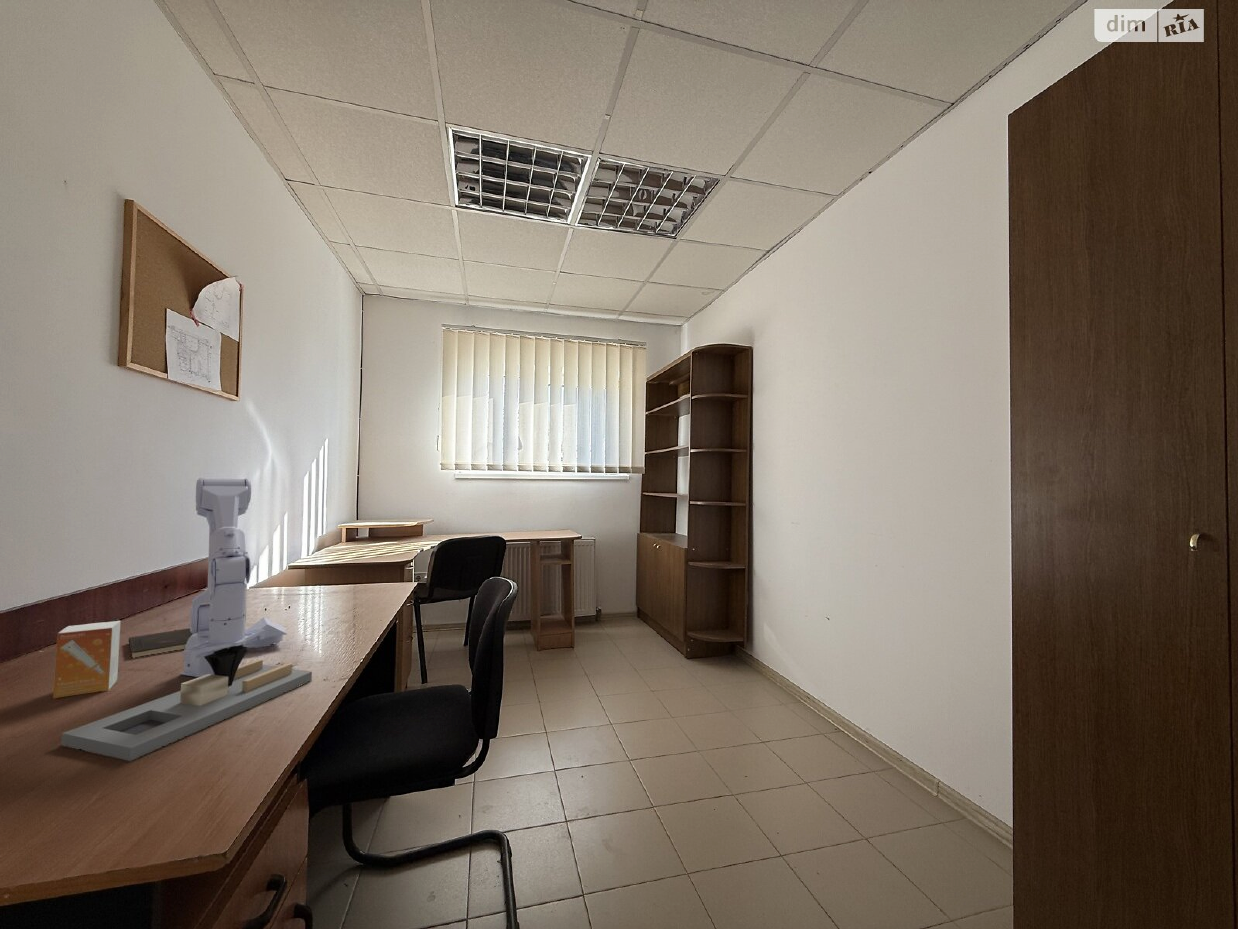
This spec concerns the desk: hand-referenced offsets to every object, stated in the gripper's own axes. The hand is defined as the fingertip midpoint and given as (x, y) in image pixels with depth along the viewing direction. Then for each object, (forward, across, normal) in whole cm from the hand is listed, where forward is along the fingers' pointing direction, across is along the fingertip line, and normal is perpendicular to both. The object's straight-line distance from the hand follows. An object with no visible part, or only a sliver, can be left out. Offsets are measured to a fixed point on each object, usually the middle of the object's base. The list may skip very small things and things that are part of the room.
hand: (224, 686), depth 100 cm
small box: (+3, -4, +32) cm, 32 cm away
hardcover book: (+4, +25, +46) cm, 52 cm away
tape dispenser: (+3, +29, +25) cm, 38 cm away
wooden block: (+1, -4, 0) cm, 4 cm away
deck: (+3, -4, 0) cm, 5 cm away
